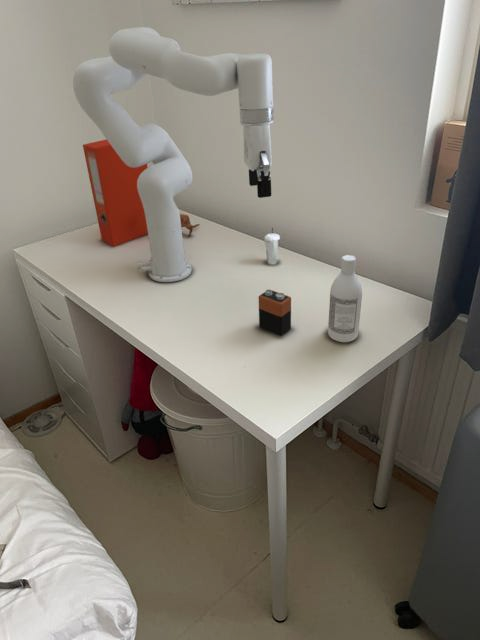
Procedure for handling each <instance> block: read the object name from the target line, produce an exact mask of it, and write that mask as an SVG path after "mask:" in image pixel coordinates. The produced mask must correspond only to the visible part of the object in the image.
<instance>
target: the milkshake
mask: <svg viewBox="0 0 480 640" xmlns="http://www.w3.org/2000/svg"><path fill="white" fill-rule="evenodd" d="M280 239H281V236H280V235H279V234H277V233H274V227H271V233H267V234H266V235H264V245H265V246H264V247H265V254H266V264H268V265H272V266H273V265H277V264H278V262H279V249H280Z"/></svg>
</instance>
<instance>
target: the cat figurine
mask: <svg viewBox="0 0 480 640" xmlns="http://www.w3.org/2000/svg"><path fill="white" fill-rule="evenodd" d="M179 214H180V220H181V228H185V229H187V230H189V234H188V235H187V237H190V236H192V233H193V231H194V228H197V227H199V226H200V223H197V224H194V225H193V224H192V223H191V221H190V217H189V215H188V214H183V213H179Z"/></svg>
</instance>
